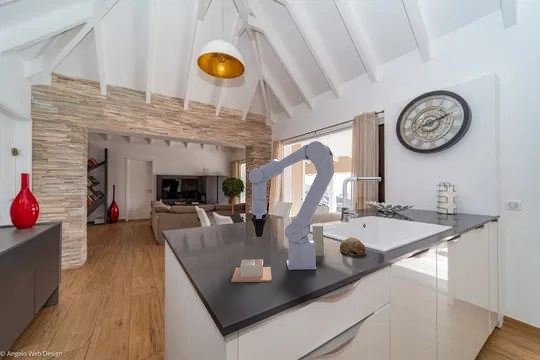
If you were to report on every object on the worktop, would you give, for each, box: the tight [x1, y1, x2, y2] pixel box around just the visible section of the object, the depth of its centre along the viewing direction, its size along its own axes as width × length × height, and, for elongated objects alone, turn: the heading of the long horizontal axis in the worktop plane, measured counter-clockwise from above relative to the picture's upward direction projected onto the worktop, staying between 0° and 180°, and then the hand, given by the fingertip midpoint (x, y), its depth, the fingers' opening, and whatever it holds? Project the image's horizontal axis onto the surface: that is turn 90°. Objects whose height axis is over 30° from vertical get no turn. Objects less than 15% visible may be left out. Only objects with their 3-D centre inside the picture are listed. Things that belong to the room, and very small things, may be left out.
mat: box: [231, 266, 272, 283], centre depth 71 cm, size 12×10×1 cm
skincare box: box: [311, 223, 325, 257], centre depth 90 cm, size 6×4×12 cm
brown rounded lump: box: [339, 236, 366, 257], centre depth 92 cm, size 10×10×8 cm
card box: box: [240, 258, 264, 277], centre depth 71 cm, size 5×7×4 cm
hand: (259, 234), depth 86 cm, fingers open, 7 cm apart
